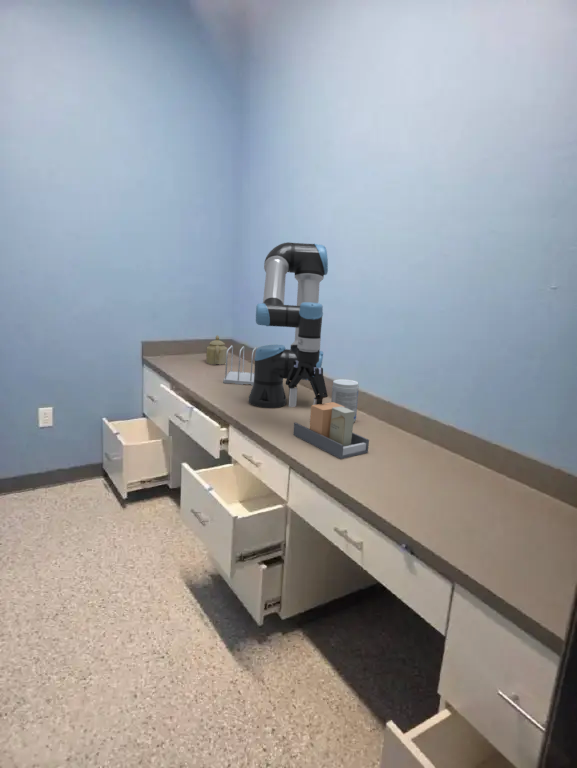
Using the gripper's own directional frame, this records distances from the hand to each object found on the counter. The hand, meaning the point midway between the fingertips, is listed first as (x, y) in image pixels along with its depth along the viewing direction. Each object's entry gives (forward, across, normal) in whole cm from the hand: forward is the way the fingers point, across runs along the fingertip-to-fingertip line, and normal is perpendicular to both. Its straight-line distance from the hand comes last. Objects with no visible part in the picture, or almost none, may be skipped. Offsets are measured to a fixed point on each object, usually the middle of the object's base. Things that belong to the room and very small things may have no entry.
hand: (304, 411), depth 179 cm
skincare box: (+6, +19, 0) cm, 20 cm away
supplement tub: (+7, -4, +21) cm, 23 cm away
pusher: (+6, +12, 0) cm, 13 cm away
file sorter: (+7, -69, +22) cm, 73 cm away
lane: (+7, +14, 0) cm, 15 cm away
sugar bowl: (+6, -108, +25) cm, 112 cm away
